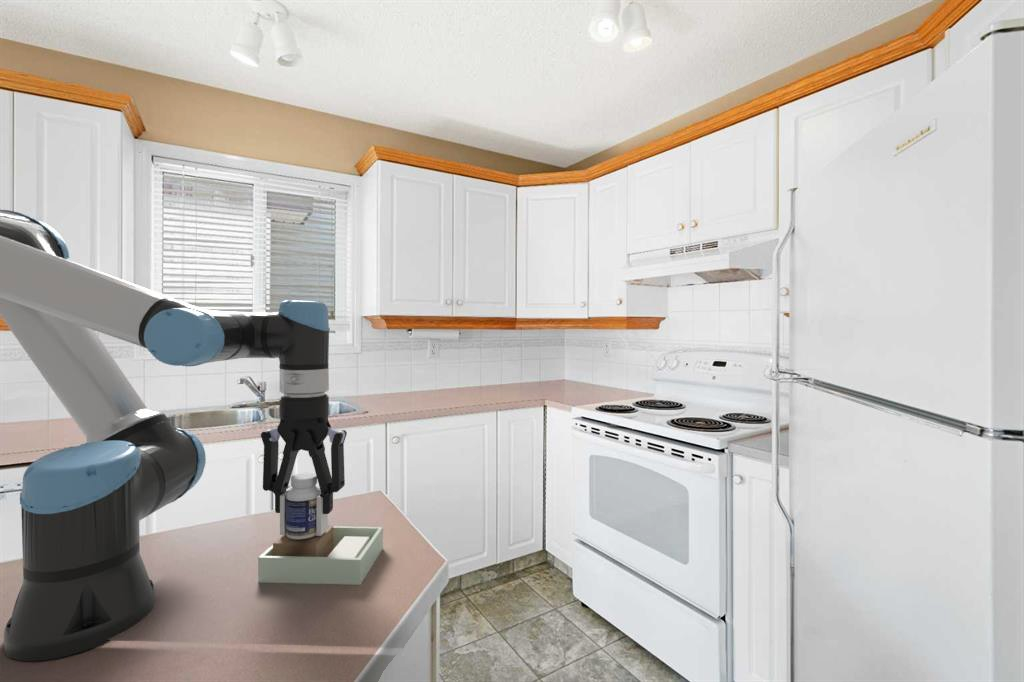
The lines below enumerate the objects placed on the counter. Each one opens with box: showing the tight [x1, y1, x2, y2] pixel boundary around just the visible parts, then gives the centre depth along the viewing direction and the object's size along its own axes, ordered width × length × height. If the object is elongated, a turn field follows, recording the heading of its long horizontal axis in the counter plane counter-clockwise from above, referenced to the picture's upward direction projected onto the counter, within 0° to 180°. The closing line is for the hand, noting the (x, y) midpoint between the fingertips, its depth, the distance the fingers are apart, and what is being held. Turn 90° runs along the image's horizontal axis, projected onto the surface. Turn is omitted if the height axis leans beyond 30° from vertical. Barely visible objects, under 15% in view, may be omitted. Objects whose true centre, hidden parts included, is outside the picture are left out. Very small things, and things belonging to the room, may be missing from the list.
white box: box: [328, 536, 369, 558], centre depth 80 cm, size 4×8×3 cm, turn 179°
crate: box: [257, 525, 384, 586], centre depth 80 cm, size 16×12×4 cm
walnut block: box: [272, 525, 334, 557], centre depth 80 cm, size 7×7×5 cm
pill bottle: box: [286, 472, 321, 540], centre depth 79 cm, size 5×5×10 cm
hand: (304, 531), depth 80 cm, fingers closed on pill bottle, 5 cm apart
